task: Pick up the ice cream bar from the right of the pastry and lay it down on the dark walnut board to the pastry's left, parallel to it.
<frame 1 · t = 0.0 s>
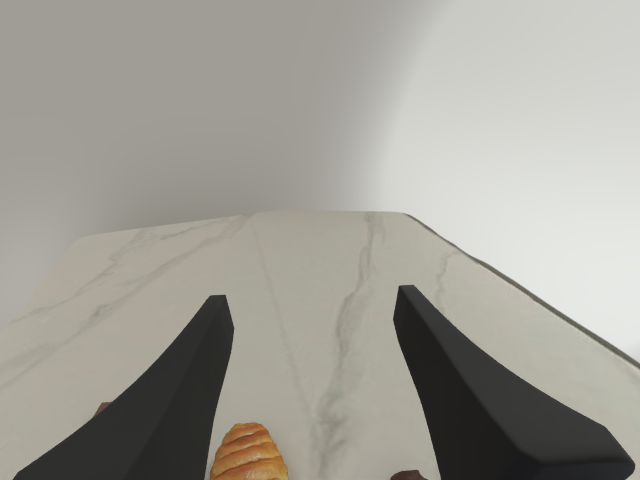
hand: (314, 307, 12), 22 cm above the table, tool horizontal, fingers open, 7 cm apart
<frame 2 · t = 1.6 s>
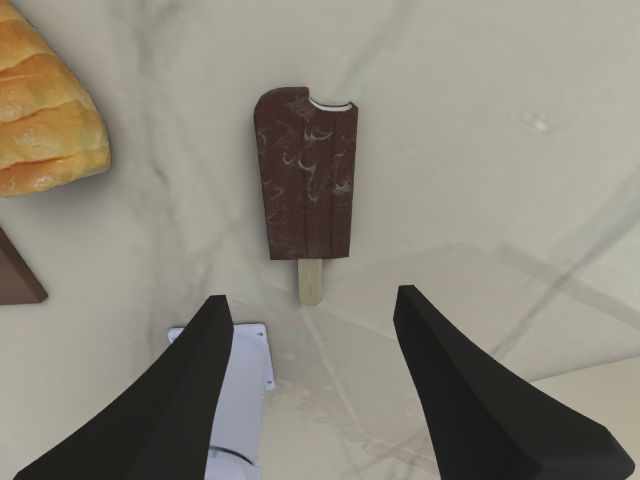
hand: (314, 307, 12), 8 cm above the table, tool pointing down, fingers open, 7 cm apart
ice cream bar: (308, 212, 20), on the table
pastry: (31, 102, 15), on the table
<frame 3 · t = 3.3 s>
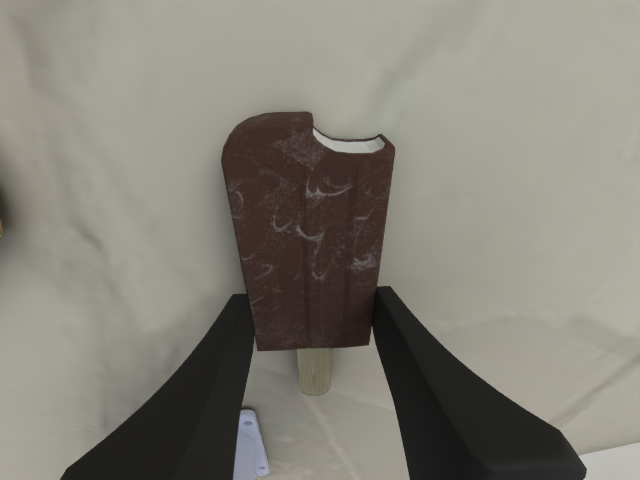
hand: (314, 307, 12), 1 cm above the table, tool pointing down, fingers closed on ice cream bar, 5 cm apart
ice cream bar: (311, 282, 14), on the table, touching gripper
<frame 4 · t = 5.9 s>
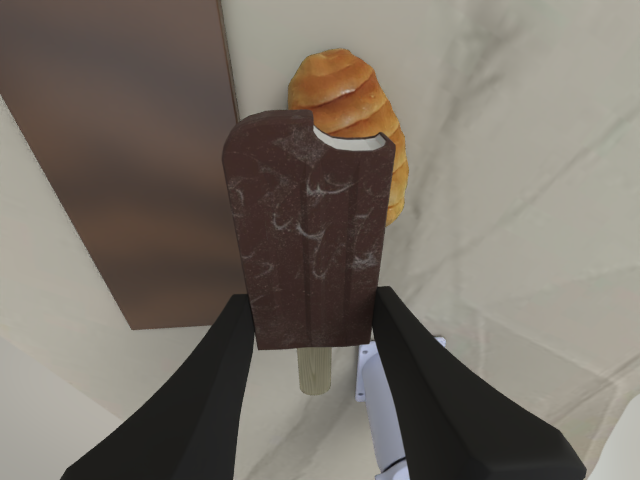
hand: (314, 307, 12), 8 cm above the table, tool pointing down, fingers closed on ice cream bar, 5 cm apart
ice cream bar: (311, 281, 14), point 7 cm above the table, touching gripper
walnut board: (162, 195, 18), on the table
pastry: (339, 155, 18), on the table
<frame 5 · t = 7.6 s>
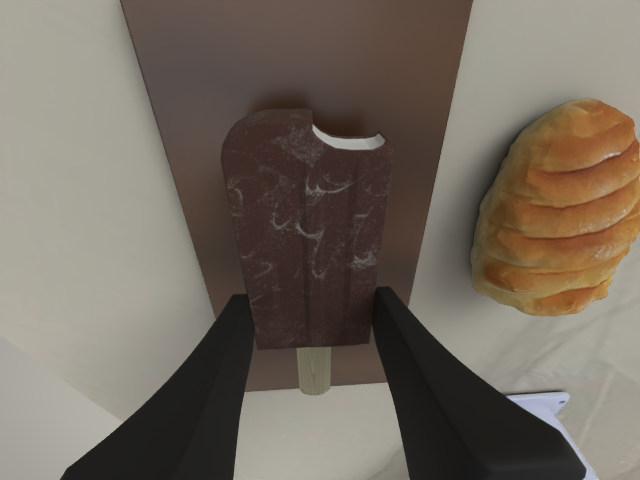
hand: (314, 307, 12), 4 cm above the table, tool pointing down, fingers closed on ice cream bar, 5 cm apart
ice cream bar: (311, 280, 14), point 2 cm above the table, touching gripper
walnut board: (310, 255, 15), on the table
pastry: (524, 211, 15), on the table
when the fingers open (2 cm above the table, at t = 8.7 s): ice cream bar stays where it is, resting on walnut board.
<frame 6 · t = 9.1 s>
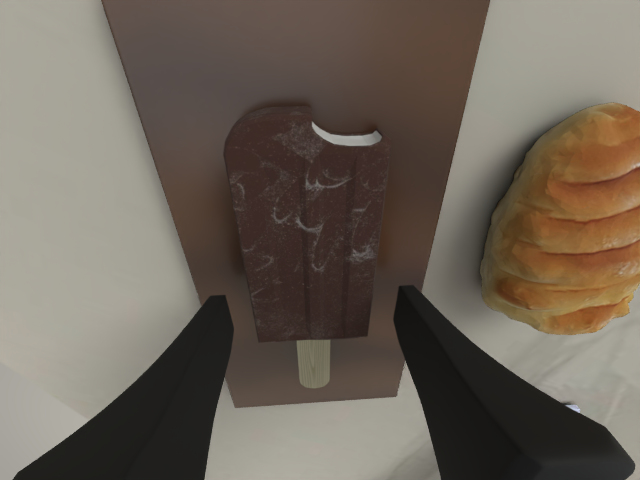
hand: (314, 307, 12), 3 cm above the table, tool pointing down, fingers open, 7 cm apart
ice cream bar: (310, 275, 14), point 1 cm above the table, touching walnut board
walnut board: (311, 268, 15), on the table
pastry: (538, 222, 14), on the table
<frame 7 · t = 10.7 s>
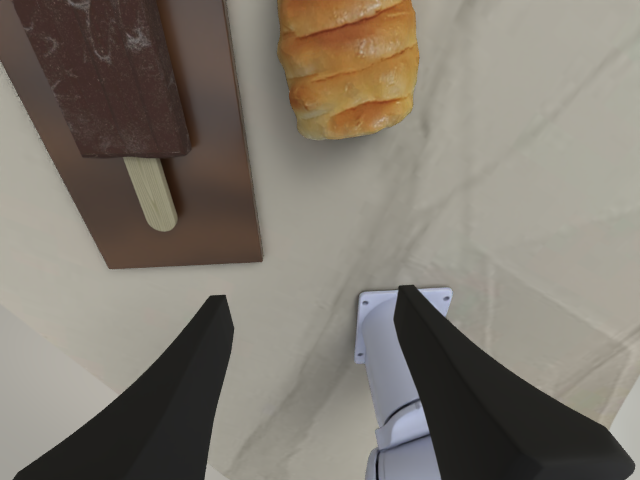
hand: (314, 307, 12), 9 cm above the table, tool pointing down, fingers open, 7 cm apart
ice cream bar: (131, 97, 15), point 1 cm above the table, touching walnut board
walnut board: (138, 98, 16), on the table
pastry: (339, 50, 16), on the table
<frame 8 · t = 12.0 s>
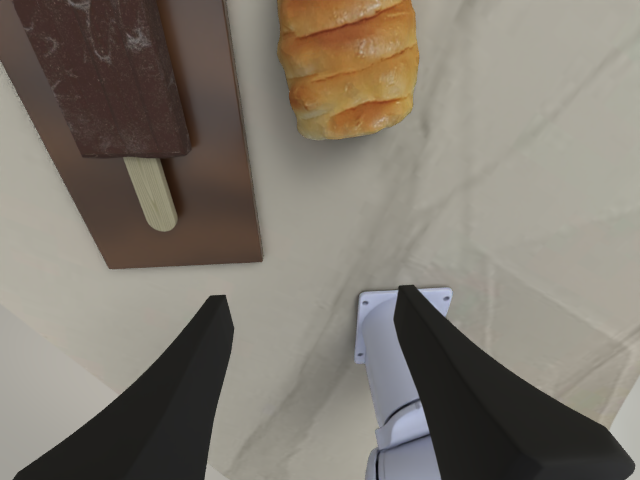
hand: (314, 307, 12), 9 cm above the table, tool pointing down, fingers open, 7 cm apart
ice cream bar: (131, 97, 15), point 1 cm above the table, touching walnut board
walnut board: (138, 98, 16), on the table
pastry: (339, 51, 16), on the table
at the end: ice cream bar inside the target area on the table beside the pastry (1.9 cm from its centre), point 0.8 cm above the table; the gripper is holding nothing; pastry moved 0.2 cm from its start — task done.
